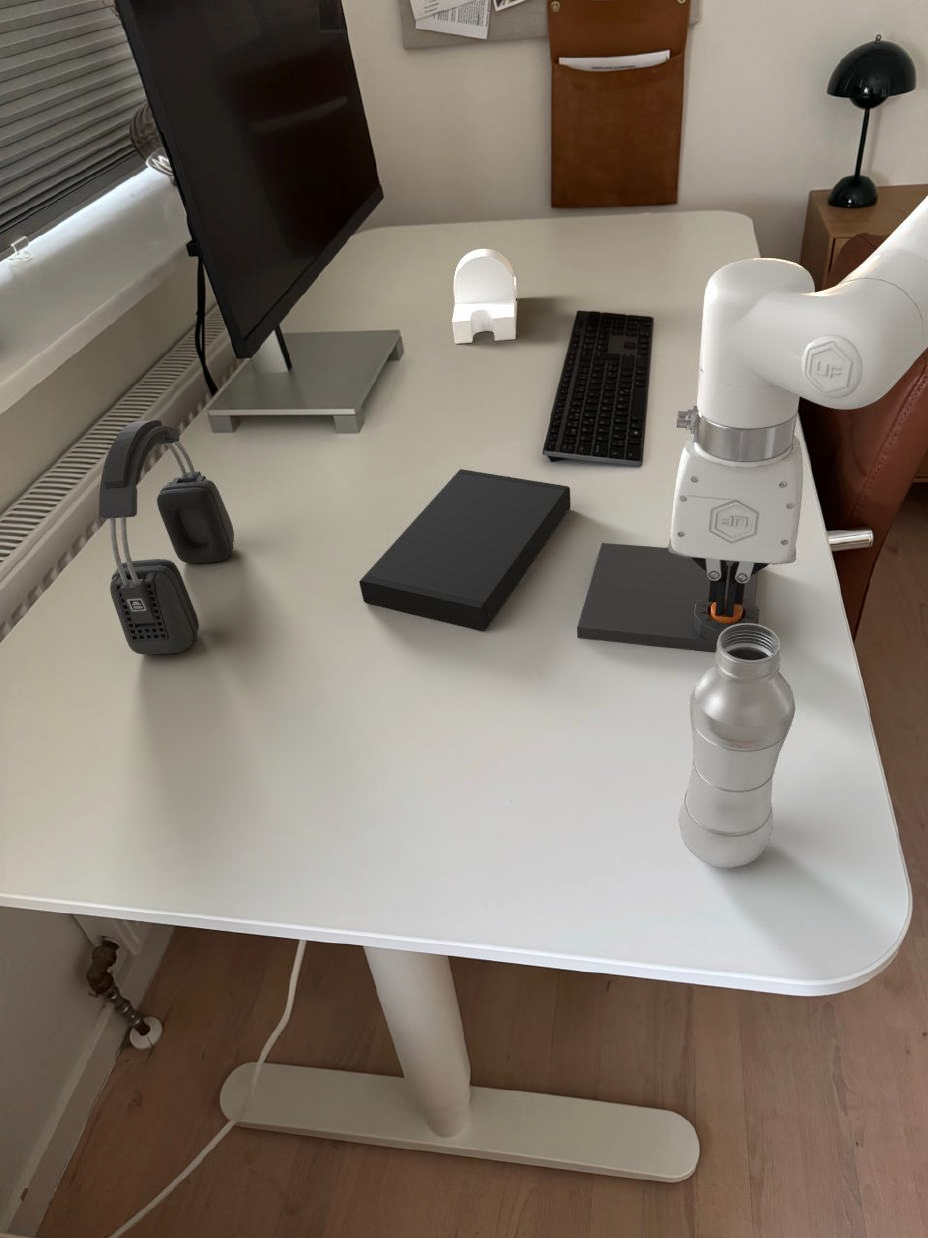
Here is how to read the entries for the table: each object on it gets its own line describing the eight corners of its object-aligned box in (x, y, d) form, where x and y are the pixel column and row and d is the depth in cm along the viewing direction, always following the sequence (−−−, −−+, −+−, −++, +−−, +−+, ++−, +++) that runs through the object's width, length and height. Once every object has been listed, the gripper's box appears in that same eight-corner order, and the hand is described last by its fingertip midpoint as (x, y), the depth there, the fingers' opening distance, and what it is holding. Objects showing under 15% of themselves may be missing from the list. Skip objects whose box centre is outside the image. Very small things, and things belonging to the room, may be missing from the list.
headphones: (190, 663, 89) (120, 492, 77) (130, 666, 90) (50, 498, 77) (241, 536, 106) (190, 379, 94) (190, 540, 107) (133, 384, 94)
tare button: (742, 612, 83) (743, 600, 82) (740, 632, 81) (741, 619, 80) (711, 609, 84) (712, 597, 83) (708, 629, 82) (709, 616, 81)
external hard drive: (363, 602, 94) (358, 580, 92) (461, 489, 109) (459, 468, 107) (485, 632, 88) (482, 608, 86) (570, 508, 103) (570, 486, 101)
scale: (760, 565, 91) (763, 541, 89) (754, 659, 81) (757, 634, 79) (601, 553, 96) (601, 530, 94) (576, 640, 86) (575, 616, 84)
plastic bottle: (661, 823, 68) (672, 625, 56) (740, 797, 70) (769, 597, 57) (703, 892, 64) (725, 692, 51) (787, 862, 65) (830, 659, 52)
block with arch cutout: (515, 339, 142) (510, 268, 135) (454, 343, 143) (446, 274, 136) (517, 297, 156) (512, 231, 149) (461, 302, 157) (454, 237, 150)
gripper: (641, 446, 69) (637, 625, 81) (847, 457, 65) (811, 643, 77) (654, 402, 75) (648, 575, 87) (844, 408, 71) (811, 590, 82)
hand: (724, 606), depth 82 cm, fingers closed
